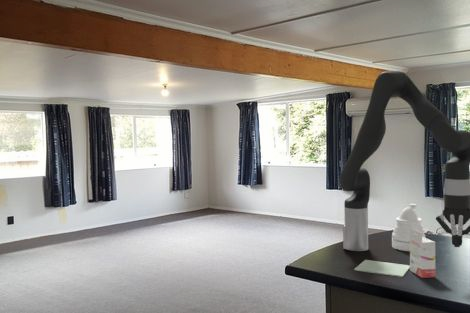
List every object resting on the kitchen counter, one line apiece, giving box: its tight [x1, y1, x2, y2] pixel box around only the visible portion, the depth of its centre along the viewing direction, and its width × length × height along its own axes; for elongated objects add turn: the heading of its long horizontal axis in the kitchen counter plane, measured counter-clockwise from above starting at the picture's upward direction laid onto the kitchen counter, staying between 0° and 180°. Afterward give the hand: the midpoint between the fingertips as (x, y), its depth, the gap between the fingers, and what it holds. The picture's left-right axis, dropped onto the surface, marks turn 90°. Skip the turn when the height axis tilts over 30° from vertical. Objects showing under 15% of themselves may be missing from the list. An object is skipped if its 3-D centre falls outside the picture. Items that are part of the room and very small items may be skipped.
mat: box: [354, 259, 410, 278], centre depth 155 cm, size 16×13×1 cm
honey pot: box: [391, 203, 426, 252], centre depth 182 cm, size 13×13×18 cm
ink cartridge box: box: [409, 229, 437, 279], centre depth 147 cm, size 9×5×15 cm, turn 5°
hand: (457, 246), depth 142 cm, fingers closed
